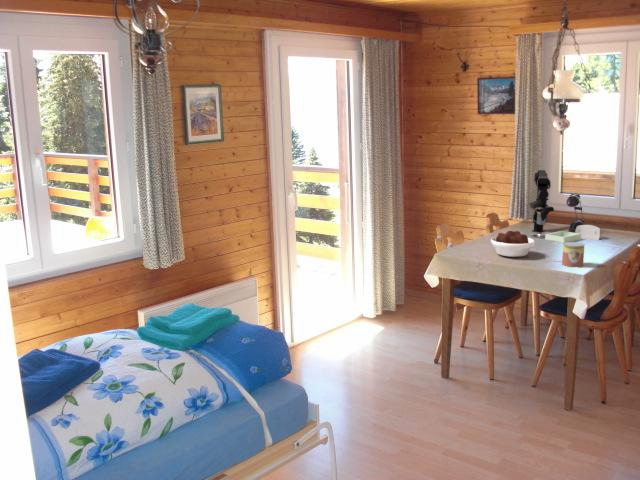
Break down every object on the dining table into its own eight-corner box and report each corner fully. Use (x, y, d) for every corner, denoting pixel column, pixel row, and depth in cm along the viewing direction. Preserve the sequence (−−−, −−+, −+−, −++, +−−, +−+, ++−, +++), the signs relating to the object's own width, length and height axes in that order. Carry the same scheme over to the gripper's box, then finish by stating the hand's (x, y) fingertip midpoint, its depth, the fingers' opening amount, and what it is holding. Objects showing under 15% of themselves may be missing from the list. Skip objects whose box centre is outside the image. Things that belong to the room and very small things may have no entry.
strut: (536, 223, 480) (537, 211, 478) (542, 223, 481) (542, 211, 479) (540, 224, 476) (540, 212, 474) (545, 224, 477) (546, 212, 476)
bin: (562, 236, 480) (562, 230, 479) (580, 240, 469) (581, 233, 468) (545, 240, 469) (545, 234, 468) (563, 243, 458) (564, 237, 457)
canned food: (563, 267, 398) (564, 245, 396) (560, 262, 409) (561, 241, 407) (584, 267, 396) (586, 246, 394) (581, 263, 407) (582, 242, 405)
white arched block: (572, 237, 475) (575, 223, 476) (574, 239, 479) (576, 224, 480) (599, 240, 466) (601, 225, 467) (600, 241, 470) (603, 226, 471)
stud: (538, 234, 487) (539, 231, 486) (550, 236, 479) (550, 233, 479) (530, 236, 481) (530, 233, 481) (541, 238, 474) (541, 235, 474)
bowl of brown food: (501, 249, 444) (502, 225, 441) (540, 254, 429) (542, 229, 426) (482, 256, 425) (483, 231, 422) (523, 262, 410) (524, 236, 407)
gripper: (523, 195, 481) (522, 218, 485) (539, 199, 464) (538, 223, 467) (538, 194, 485) (537, 217, 488) (555, 198, 467) (553, 222, 470)
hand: (541, 220), depth 478 cm, fingers closed on strut, 4 cm apart
